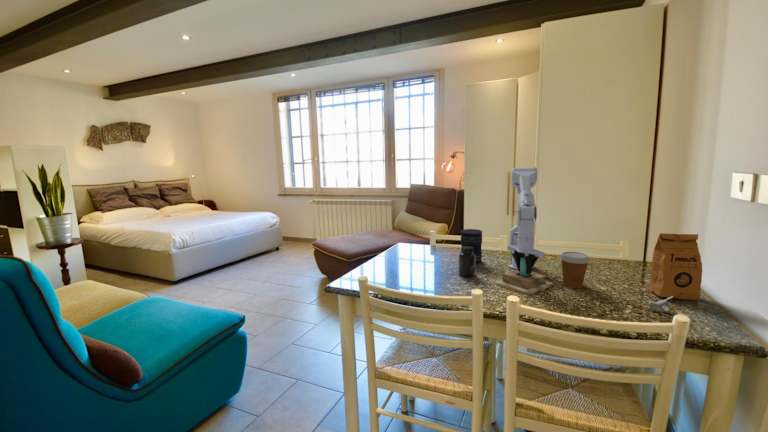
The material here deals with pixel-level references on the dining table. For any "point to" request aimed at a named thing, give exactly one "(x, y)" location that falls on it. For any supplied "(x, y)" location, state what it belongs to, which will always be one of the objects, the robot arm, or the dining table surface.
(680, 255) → the coffee package
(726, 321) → the dining table surface
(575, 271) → the disposable coffee cup
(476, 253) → the storage jar
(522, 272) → the peg
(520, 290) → the socket board
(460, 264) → the supplement bottle
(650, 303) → the dog figurine
